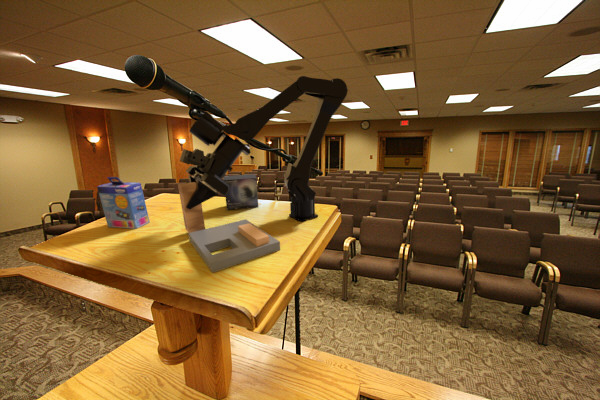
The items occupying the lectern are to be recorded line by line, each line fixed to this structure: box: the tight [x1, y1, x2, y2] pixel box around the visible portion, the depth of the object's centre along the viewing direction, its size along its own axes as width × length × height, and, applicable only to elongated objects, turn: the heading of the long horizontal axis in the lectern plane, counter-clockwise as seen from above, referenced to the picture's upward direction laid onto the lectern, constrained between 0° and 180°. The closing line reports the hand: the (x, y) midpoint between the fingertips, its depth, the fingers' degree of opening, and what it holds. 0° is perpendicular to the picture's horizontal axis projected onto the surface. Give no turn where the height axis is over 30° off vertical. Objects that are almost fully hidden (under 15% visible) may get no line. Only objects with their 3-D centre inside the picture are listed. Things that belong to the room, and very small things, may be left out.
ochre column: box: [177, 182, 206, 233], centre depth 66 cm, size 4×4×12 cm
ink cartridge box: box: [96, 176, 150, 230], centre depth 74 cm, size 10×6×14 cm, turn 78°
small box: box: [223, 173, 259, 211], centre depth 88 cm, size 11×6×10 cm, turn 105°
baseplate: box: [187, 218, 281, 273], centre depth 60 cm, size 15×18×4 cm
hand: (185, 206), depth 65 cm, fingers closed on ochre column, 4 cm apart
